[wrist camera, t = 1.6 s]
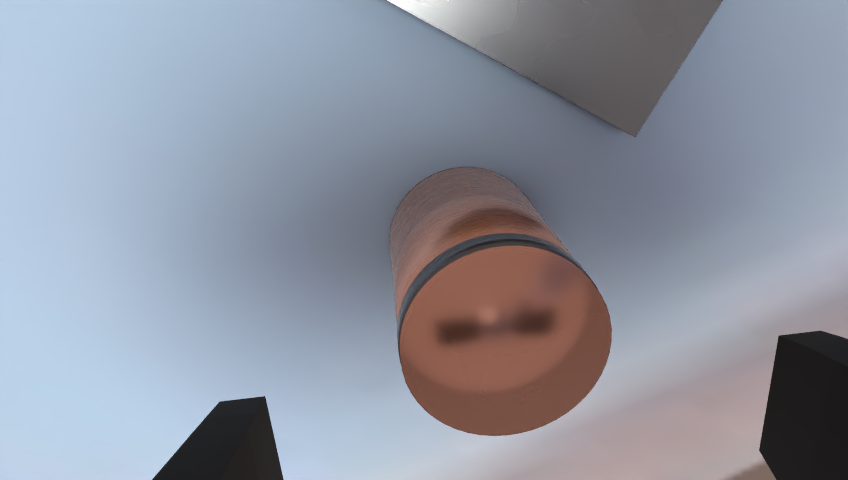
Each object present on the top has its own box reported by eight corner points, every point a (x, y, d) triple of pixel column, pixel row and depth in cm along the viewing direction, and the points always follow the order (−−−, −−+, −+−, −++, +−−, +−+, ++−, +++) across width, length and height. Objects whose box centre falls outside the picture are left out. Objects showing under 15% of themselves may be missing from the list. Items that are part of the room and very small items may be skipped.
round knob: (563, 205, 15) (654, 302, 10) (490, 324, 16) (541, 461, 11) (432, 139, 14) (465, 213, 9) (363, 271, 15) (362, 395, 10)
